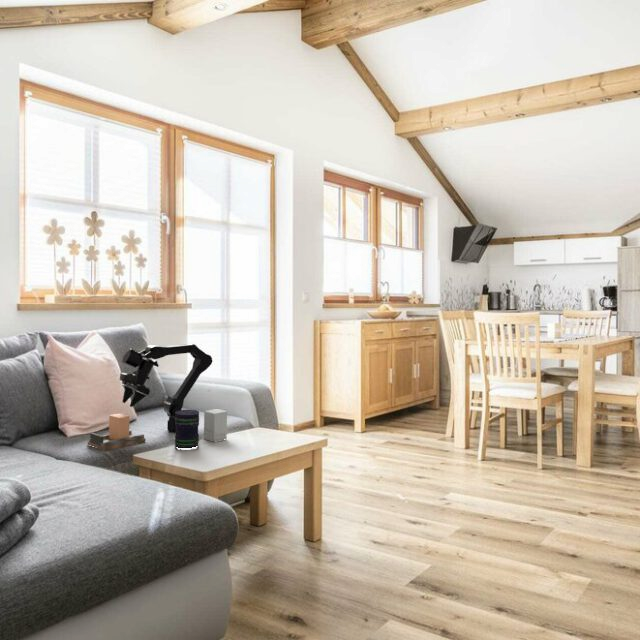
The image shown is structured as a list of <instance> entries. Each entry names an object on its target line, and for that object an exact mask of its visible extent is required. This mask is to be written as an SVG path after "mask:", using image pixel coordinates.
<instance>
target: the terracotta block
mask: <svg viewBox="0 0 640 640" xmlns="http://www.w3.org/2000/svg"><path fill="white" fill-rule="evenodd" d="M108 417H109V418H108V419H109V420H108V422H109V423H108V435H109V439H112V440H117V439H122V438H126V437H129V430H130V415H127V414H123V413H114V414H109V416H108Z"/></svg>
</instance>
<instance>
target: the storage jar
mask: <svg viewBox="0 0 640 640" xmlns="http://www.w3.org/2000/svg"><path fill="white" fill-rule="evenodd" d="M199 425H200V411H199V410H197V409H181V410H179V411H176V416H175V426H176V432H175V435H174V444H175V445H174V448H175V447H178V448H192V447H196V446H198V447H199V441H200V440H199V439H200V438H199V437H200V434H199Z"/></svg>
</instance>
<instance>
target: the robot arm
mask: <svg viewBox="0 0 640 640" xmlns="http://www.w3.org/2000/svg"><path fill="white" fill-rule="evenodd" d="M180 354H181V355H182V354H190V355H191V357H192V358H193V362H192V368H191V370H190V371H189V372H188V374H187V376H186V377H185V379H184V380H183V382H182V383H181V385H180V386H179V388H178V389H177V391H176V393H175V394H174V395H172V396H171V395H168V396H167V398H166V400H165V401H164V402H163V405H162V406H163V411H164V412H165V413H166V415H167V417H168V420H167V425H166V427H167V431H169V432H168V433H176V426H175V416H176V411H179V410H183V407H184V402H185V399H186V397H187V395H188V394H189V393H190V391H191V390H192V388H193V387H194V385H195V383H196V382H197V380H198V378H199V377H200V376H201V374H202V373H203V372H205V371H206V370H207V369H209V367H210V366H211V365H212V363H213V357H212V356H211V355H210V354H208V353H205V352H204V351H203V350H202V349H201V348H199V347H198V346H197V344H195V343H187V344H176V345H164V346H163V345H155V344H149V345H147V346H146V347H145V349H143V350H142V351H139V352H137V351H135V350H134V349H132V348H129V349H128V351H127V352H125V354H124V355H123V357H122V363H123V364H125V365H128V366H129V367H132V368H134V369H135V368H137V369H136V370H134V371H133V372H119V373H120V374H119V381H121V384H122V385H121V386H122V387H123V389H124V391H123V396H122V401H121V403H123V404H126V402H128V400H129V399H130V398H131V397H132V398H131V401H130V404H129V407H130V408H133V407H134V406H135V405H136V404H138V403H139V402H140V401H141V400H143V399H144V398H145V397H147V396H149V395H150V392H151V389H150V388H149V387H147V386H146V383H147V381H148V380H150V377H149V376H150V374H151V372H152V370H153V368H154V366H155V367H158V368H159V366H160V365H159V363H158V360H159V359H162V358H164V357H167V356H172V355H174V356H175V355H180Z"/></svg>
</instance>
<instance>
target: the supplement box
mask: <svg viewBox="0 0 640 640" xmlns="http://www.w3.org/2000/svg"><path fill="white" fill-rule="evenodd" d="M203 414H204V415H203V419H204V420H203V421H204V422H203V440H206V441H209V440H210V441H209V442H212V441H217V442H220V441H219V440H222V441H225V440H224V439H226V440H227V434H228V433H227V432H228V431H227V430H228V410H223V409H218V408H215V409H209V410H204V413H203Z"/></svg>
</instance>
